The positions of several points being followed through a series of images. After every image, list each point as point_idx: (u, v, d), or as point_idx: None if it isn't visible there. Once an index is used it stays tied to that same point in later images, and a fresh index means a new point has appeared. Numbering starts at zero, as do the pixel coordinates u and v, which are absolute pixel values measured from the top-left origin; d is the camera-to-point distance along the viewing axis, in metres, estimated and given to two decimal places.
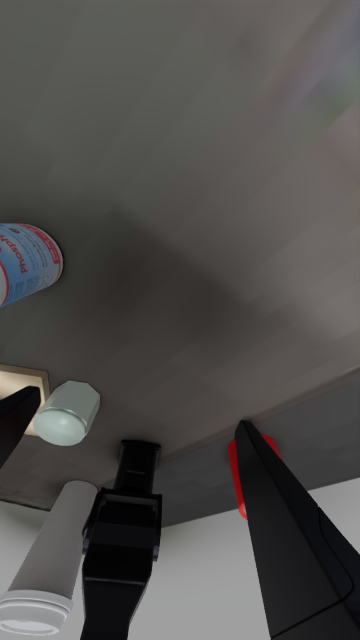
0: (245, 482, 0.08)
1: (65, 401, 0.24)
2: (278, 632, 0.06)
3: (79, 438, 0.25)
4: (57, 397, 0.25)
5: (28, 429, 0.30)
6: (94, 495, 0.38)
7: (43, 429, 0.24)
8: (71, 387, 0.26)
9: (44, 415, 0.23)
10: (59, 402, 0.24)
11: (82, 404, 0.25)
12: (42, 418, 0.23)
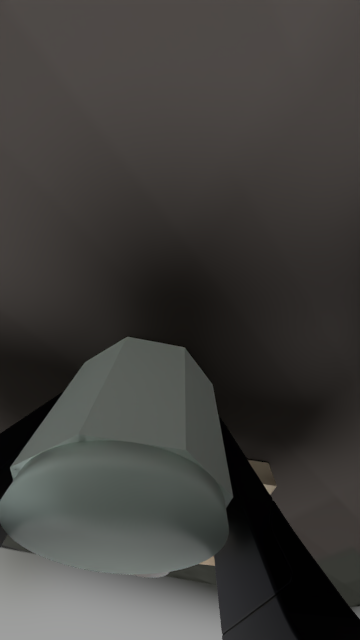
0: None
1: None
2: (228, 628, 0.05)
3: (174, 492, 0.04)
4: None
5: None
6: None
7: (122, 561, 0.06)
8: None
9: (36, 547, 0.06)
10: None
11: (64, 407, 0.06)
12: (57, 553, 0.06)
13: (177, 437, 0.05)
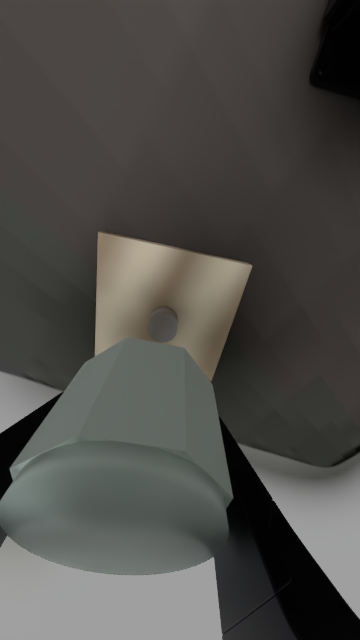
0: None
1: None
2: (229, 628, 0.05)
3: (174, 493, 0.04)
4: None
5: (226, 297, 0.17)
6: None
7: (122, 561, 0.06)
8: None
9: (36, 548, 0.06)
10: None
11: (64, 407, 0.06)
12: (57, 553, 0.06)
13: (177, 438, 0.05)
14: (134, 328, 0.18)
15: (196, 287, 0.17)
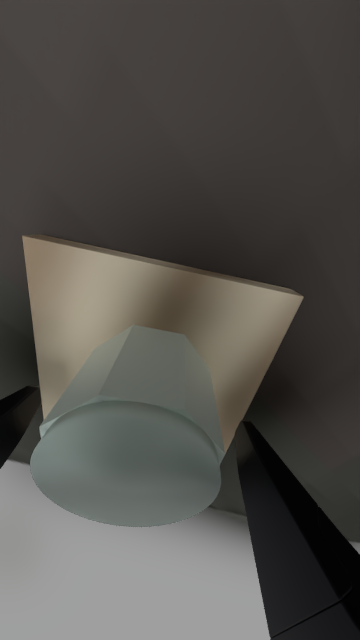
0: (245, 482, 0.08)
1: None
2: (278, 632, 0.06)
3: (176, 441, 0.06)
4: None
5: (254, 346, 0.10)
6: None
7: (131, 512, 0.07)
8: None
9: (58, 498, 0.07)
10: None
11: (81, 381, 0.07)
12: (76, 504, 0.07)
13: (178, 400, 0.06)
14: None
15: (203, 331, 0.10)
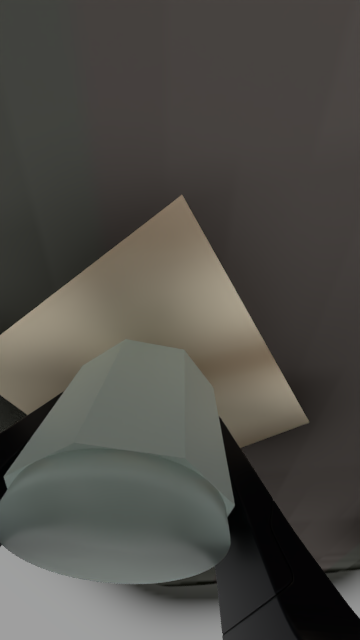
0: None
1: (62, 420, 0.06)
2: (229, 628, 0.05)
3: (216, 539, 0.05)
4: (43, 423, 0.06)
5: (247, 429, 0.11)
6: None
7: (72, 562, 0.06)
8: (86, 373, 0.08)
9: (5, 524, 0.05)
10: (42, 436, 0.06)
11: (130, 396, 0.06)
12: (17, 535, 0.05)
13: (229, 490, 0.06)
14: None
15: (228, 395, 0.10)
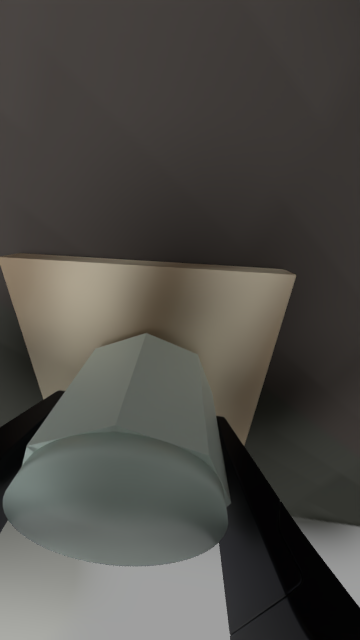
0: None
1: (169, 406, 0.06)
2: (236, 628, 0.05)
3: (179, 555, 0.06)
4: (134, 383, 0.06)
5: (252, 336, 0.09)
6: None
7: (47, 514, 0.05)
8: (163, 356, 0.08)
9: (84, 468, 0.04)
10: (149, 407, 0.06)
11: (211, 425, 0.07)
12: (65, 477, 0.05)
13: None
14: None
15: (195, 326, 0.09)
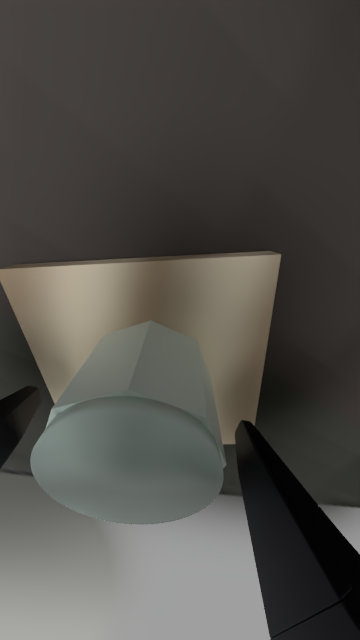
0: (245, 482, 0.08)
1: (172, 379, 0.07)
2: (278, 632, 0.06)
3: (180, 512, 0.07)
4: (142, 359, 0.07)
5: (245, 320, 0.09)
6: None
7: (68, 469, 0.06)
8: (167, 340, 0.09)
9: (103, 423, 0.05)
10: (155, 378, 0.06)
11: (209, 399, 0.08)
12: (86, 432, 0.05)
13: None
14: None
15: (187, 317, 0.09)
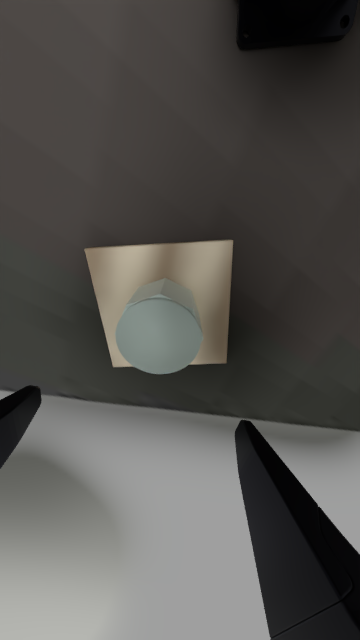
0: (245, 482, 0.08)
1: (178, 297, 0.14)
2: (278, 632, 0.06)
3: (181, 364, 0.15)
4: (163, 288, 0.15)
5: (217, 278, 0.17)
6: None
7: (132, 333, 0.14)
8: (174, 286, 0.16)
9: (150, 305, 0.13)
10: (170, 294, 0.14)
11: (196, 312, 0.15)
12: (143, 310, 0.13)
13: None
14: None
15: (185, 275, 0.17)
